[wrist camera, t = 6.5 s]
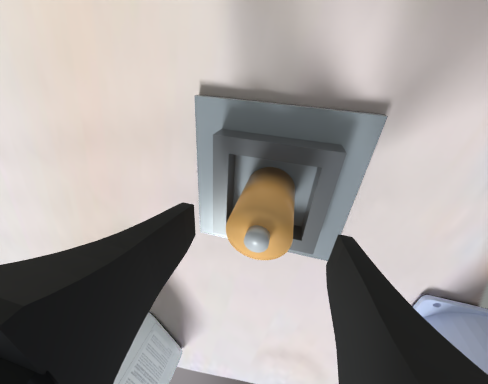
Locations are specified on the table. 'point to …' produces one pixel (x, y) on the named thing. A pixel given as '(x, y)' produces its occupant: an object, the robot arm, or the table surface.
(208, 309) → the table surface
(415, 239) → the table surface
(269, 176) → the tan capped bottle
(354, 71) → the table surface
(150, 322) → the white wifi router
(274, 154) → the housing
